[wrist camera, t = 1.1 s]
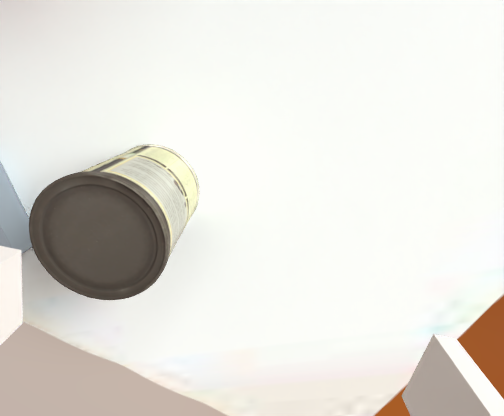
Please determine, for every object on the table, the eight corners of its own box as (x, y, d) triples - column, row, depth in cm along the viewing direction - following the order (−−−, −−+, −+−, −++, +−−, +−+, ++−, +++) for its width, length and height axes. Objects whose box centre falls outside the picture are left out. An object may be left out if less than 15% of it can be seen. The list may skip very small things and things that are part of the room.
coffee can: (175, 245, 40) (133, 321, 26) (96, 203, 38) (9, 261, 25) (217, 174, 37) (192, 220, 23) (133, 125, 35) (55, 144, 22)
